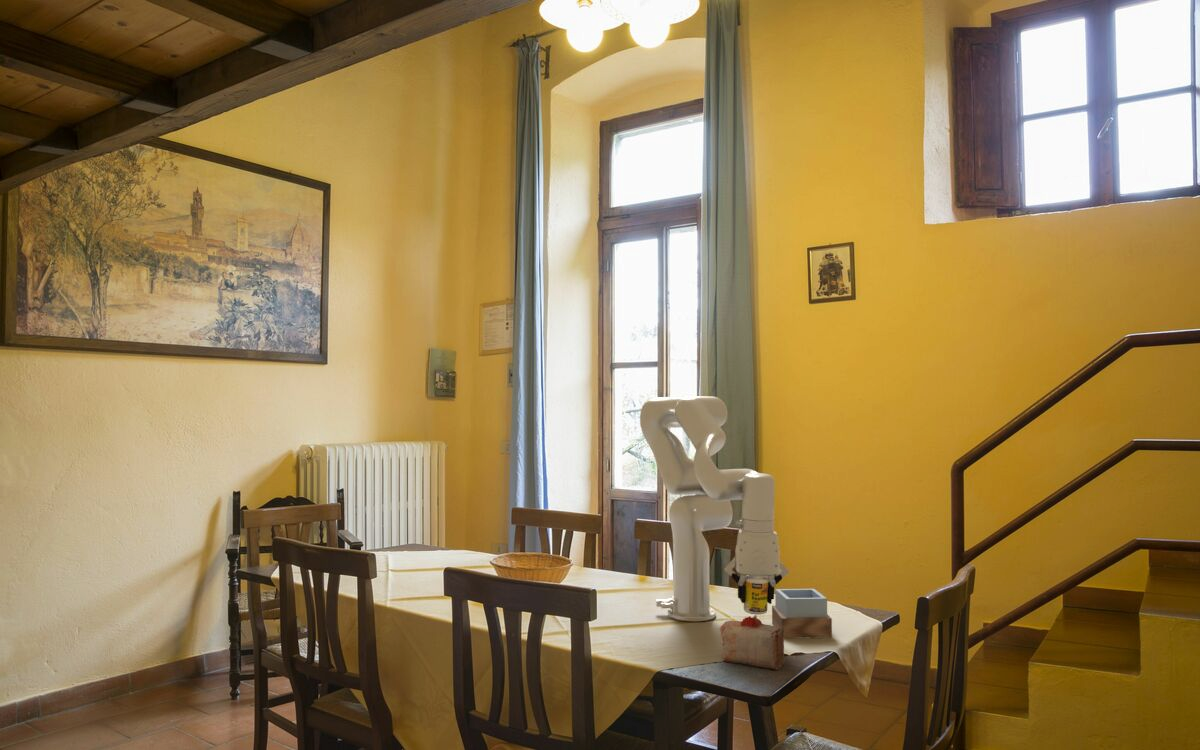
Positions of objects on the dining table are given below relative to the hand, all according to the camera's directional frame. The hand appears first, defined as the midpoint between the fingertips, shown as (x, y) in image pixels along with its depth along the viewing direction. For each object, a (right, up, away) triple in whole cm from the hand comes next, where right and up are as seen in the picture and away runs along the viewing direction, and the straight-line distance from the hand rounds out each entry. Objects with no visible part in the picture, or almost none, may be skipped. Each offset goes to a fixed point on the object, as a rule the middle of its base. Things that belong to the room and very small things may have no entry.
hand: (755, 600), depth 193 cm
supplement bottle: (0, -3, 0) cm, 3 cm away
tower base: (+13, -10, +9) cm, 19 cm away
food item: (-4, -9, -15) cm, 18 cm away
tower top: (+13, -5, +9) cm, 16 cm away
